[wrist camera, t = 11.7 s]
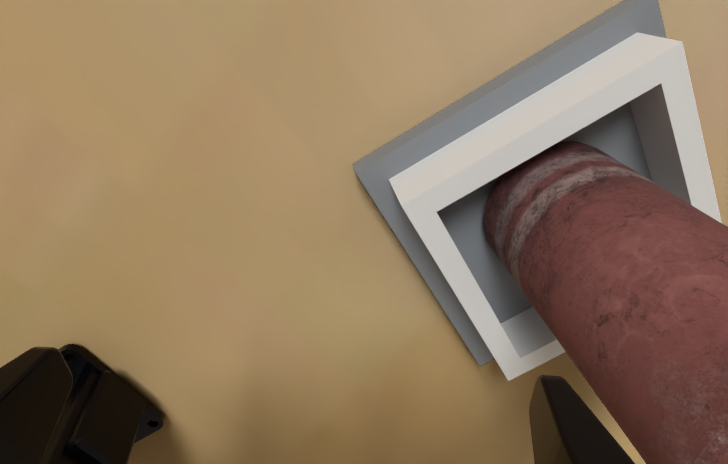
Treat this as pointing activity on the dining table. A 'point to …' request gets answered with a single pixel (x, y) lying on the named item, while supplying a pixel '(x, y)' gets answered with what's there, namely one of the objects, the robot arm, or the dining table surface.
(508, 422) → the dining table surface
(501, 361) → the tray
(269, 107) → the dining table surface
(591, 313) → the can
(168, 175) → the dining table surface
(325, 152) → the dining table surface
